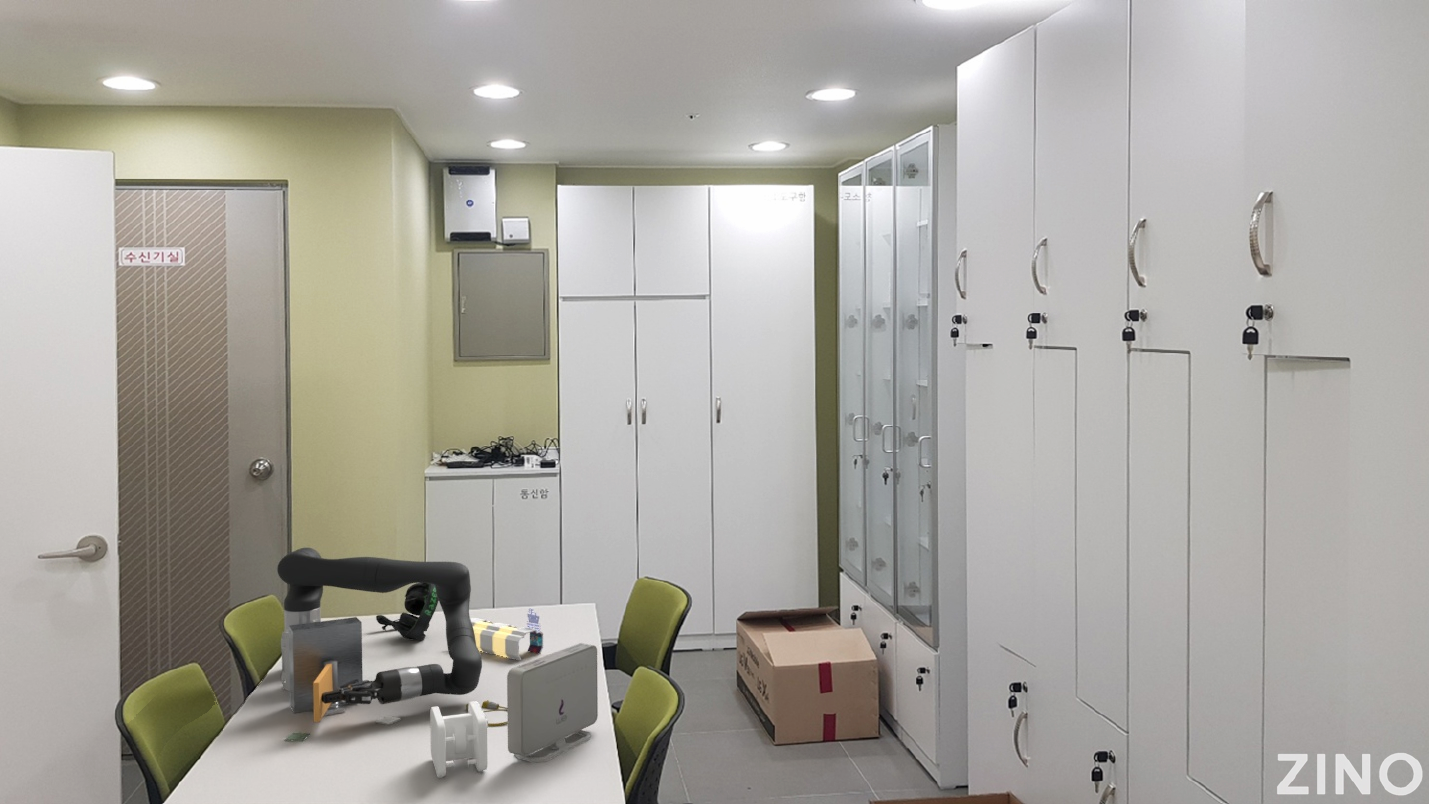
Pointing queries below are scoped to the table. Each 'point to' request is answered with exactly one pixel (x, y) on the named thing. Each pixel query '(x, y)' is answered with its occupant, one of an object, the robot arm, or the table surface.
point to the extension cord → (493, 706)
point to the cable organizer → (459, 738)
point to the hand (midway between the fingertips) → (322, 698)
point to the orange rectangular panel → (324, 688)
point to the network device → (552, 701)
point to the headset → (414, 612)
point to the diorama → (506, 637)
